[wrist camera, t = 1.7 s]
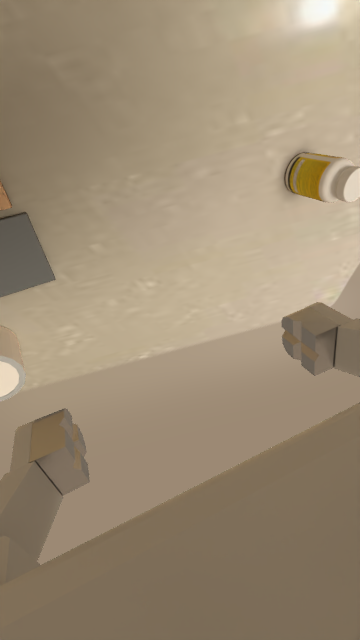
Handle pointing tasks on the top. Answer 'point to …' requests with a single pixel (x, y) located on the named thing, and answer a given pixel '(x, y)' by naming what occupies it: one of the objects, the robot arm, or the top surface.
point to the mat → (21, 256)
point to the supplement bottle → (324, 178)
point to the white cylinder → (10, 365)
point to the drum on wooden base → (4, 199)
